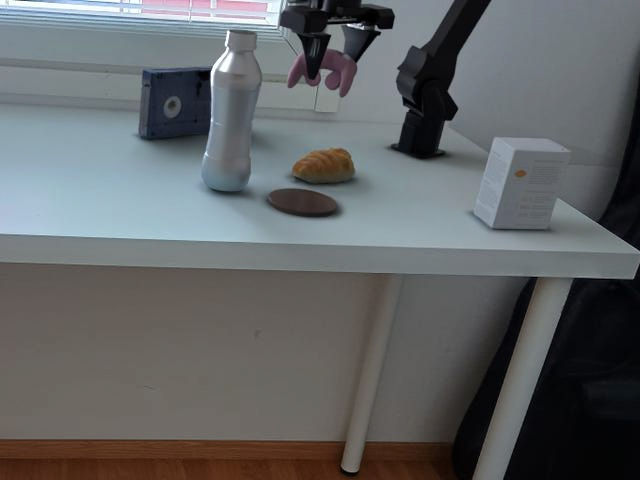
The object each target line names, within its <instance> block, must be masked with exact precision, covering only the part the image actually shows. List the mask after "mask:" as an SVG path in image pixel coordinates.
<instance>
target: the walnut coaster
mask: <svg viewBox="0 0 640 480" xmlns="http://www.w3.org/2000/svg"><path fill="white" fill-rule="evenodd" d="M267 202H268V204H269V205H271V207H273V208H274V209H276V210H278V211H281V212H283V213H286V214H290V215H294V216H298V217H299V216H300V217H306V218H321V217H328V216H331V215H333V214H334V213H335V212H336V211H337V208H338V202H337V201H336V200H335V199H334V198H333V197H331V196H329V195H327V194H325V193H322V192H319V191H315V190H311V189H307V188H306V189H305V188H296V187H295V188H294V187H293V188H291V187H288V188H286V187H285V188H278V189H275V190H272V191H271V192H270V193H268V197H267Z"/></svg>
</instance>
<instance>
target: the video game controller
mask: <svg viewBox="0 0 640 480" xmlns="http://www.w3.org/2000/svg"><path fill="white" fill-rule="evenodd" d="M319 70H328V71H331V72H330V73H328V74H327V75H326V77H325V79H324V86H325V87H326V88H327V89H328V90H329V91H337V90H338V95H339V97H340V98H341V99H342V98H343V99H344V98H345V97H347V95H348V94H349V92H350V90H351V88H352V86H353V82H354V79H355V77H356V75H357V73H358V63H357V64H356V63H355V61H354V60H353V59H352V58H351V57H350V56H349V55H347V54H344V53H343V51H340V50H338V49H333V48H328V47H327V50H326V52H325V55H324V58H323V61H322V64H321V66H320V69H319ZM302 77H304V80H305V83H306V85H308V86H309V87H312V88H314V87H317V86H319V85H320V83H321V81H322V75H321V73H320V71H319V72H318V74H317V76H316V78H315V80H310V79H309V78H308V74H307V68H306V61H305V55H304V51H302V52H301V53H299V54H298V55H297V56H296V58H295V60H294V62H293V64H292V66H291V68H290V70H289V73H288V75H287V79H286V87H287V88H288V89H293V88H294V87H295V86H296V85H297V83H299V81H300V80H301V79H302Z"/></svg>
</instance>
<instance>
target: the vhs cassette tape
mask: <svg viewBox="0 0 640 480" xmlns="http://www.w3.org/2000/svg"><path fill="white" fill-rule="evenodd" d="M213 67H214V65H210V66H208V65H207V66H187V67H170V68H149V69H142V75H141V89H140V104H139V115H138V119H139V120H138V121H139V122H138V130H137V131H138V135H139V136H141V137H142V138H144V139H146V140H153V139H161V138H162V139H163V138H170V137H180V136H190V135H202V134H209V131H210V125H211V117H212V116H211V106H212V99H211V72H212V69H213Z"/></svg>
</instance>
